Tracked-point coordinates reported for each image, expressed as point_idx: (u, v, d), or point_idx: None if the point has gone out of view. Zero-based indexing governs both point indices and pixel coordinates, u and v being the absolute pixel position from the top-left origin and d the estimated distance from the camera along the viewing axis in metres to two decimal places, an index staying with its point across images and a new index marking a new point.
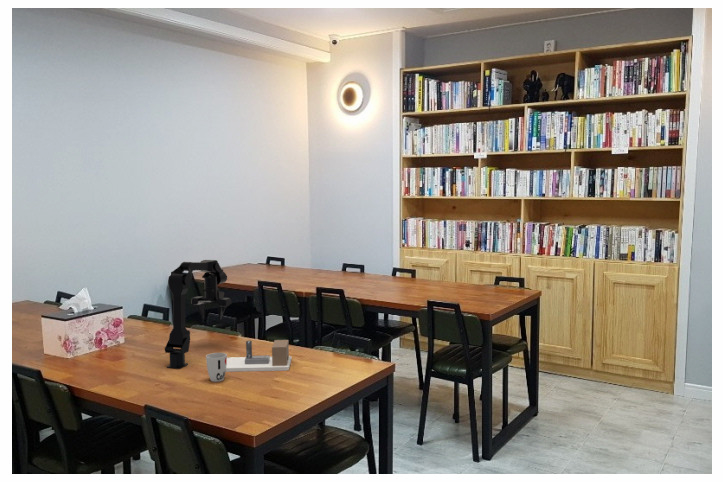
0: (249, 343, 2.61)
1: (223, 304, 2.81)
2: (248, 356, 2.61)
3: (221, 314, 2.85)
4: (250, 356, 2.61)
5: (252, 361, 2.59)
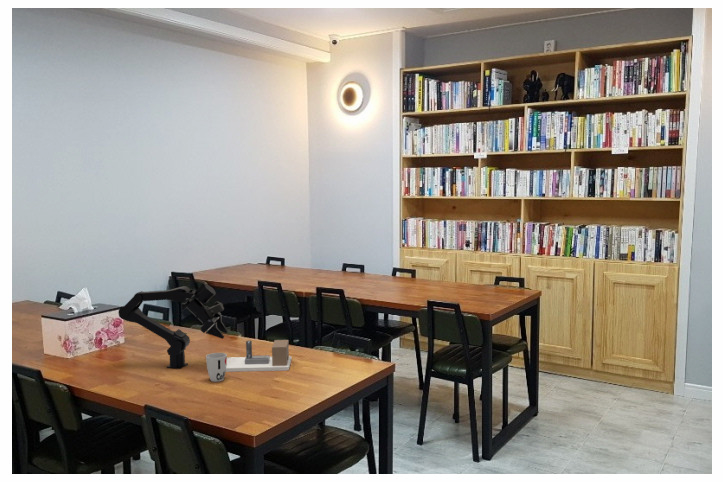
0: (249, 343, 2.61)
1: None
2: (248, 356, 2.61)
3: (217, 335, 2.56)
4: (250, 356, 2.61)
5: (252, 361, 2.59)
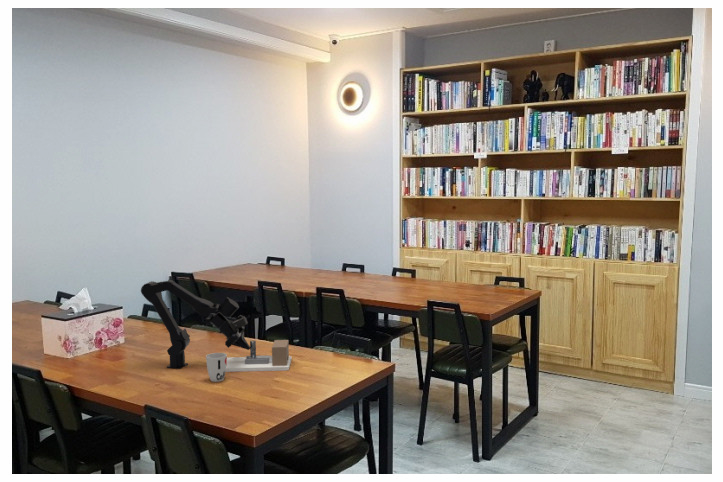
0: (253, 343, 2.61)
1: None
2: (252, 356, 2.61)
3: (243, 346, 2.61)
4: (254, 356, 2.61)
5: (252, 361, 2.59)
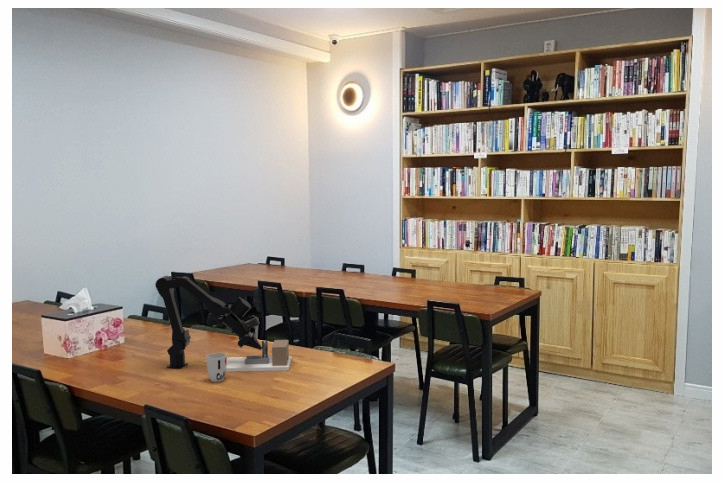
0: (265, 343, 2.61)
1: None
2: (264, 356, 2.61)
3: (255, 346, 2.61)
4: (266, 356, 2.62)
5: (252, 361, 2.59)
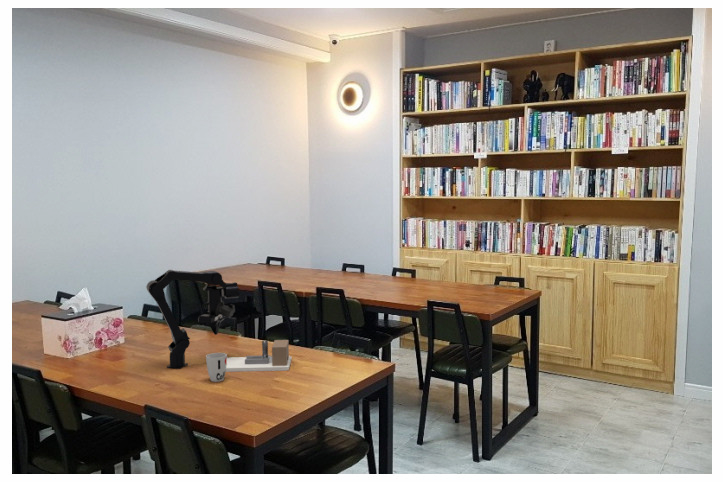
0: (265, 343, 2.61)
1: None
2: (264, 356, 2.61)
3: (213, 329, 2.68)
4: (266, 356, 2.62)
5: (252, 361, 2.59)
